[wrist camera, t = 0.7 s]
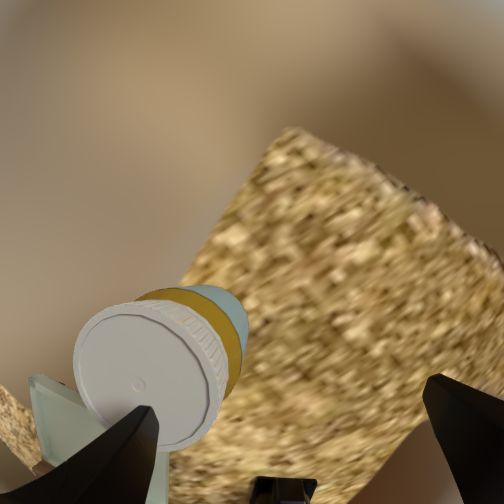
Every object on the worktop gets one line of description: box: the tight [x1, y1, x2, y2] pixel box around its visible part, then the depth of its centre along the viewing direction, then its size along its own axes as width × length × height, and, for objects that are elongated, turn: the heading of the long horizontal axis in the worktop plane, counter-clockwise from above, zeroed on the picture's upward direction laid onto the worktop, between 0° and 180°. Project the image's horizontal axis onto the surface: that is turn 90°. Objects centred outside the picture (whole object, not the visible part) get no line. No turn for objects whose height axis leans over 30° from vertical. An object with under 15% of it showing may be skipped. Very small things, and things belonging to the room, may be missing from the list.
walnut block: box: [32, 459, 56, 478], centre depth 20 cm, size 4×4×4 cm
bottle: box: [73, 285, 249, 452], centre depth 16 cm, size 7×7×15 cm
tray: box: [29, 373, 170, 504], centre depth 21 cm, size 12×16×4 cm
